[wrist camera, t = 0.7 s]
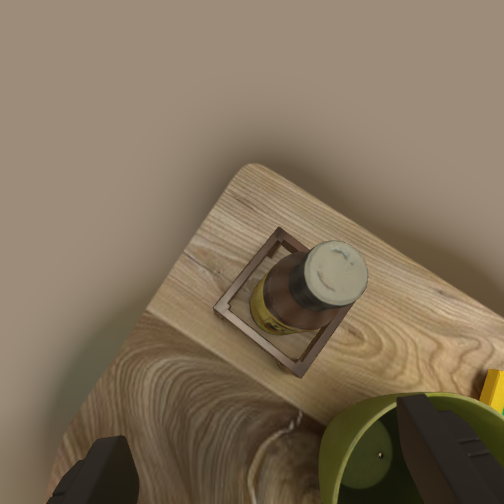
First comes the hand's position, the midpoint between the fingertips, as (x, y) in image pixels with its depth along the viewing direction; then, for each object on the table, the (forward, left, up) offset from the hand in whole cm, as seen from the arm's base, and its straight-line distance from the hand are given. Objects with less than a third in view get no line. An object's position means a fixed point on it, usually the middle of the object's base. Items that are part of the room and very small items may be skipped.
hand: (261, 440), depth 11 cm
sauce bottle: (0, +8, -29) cm, 31 cm away
